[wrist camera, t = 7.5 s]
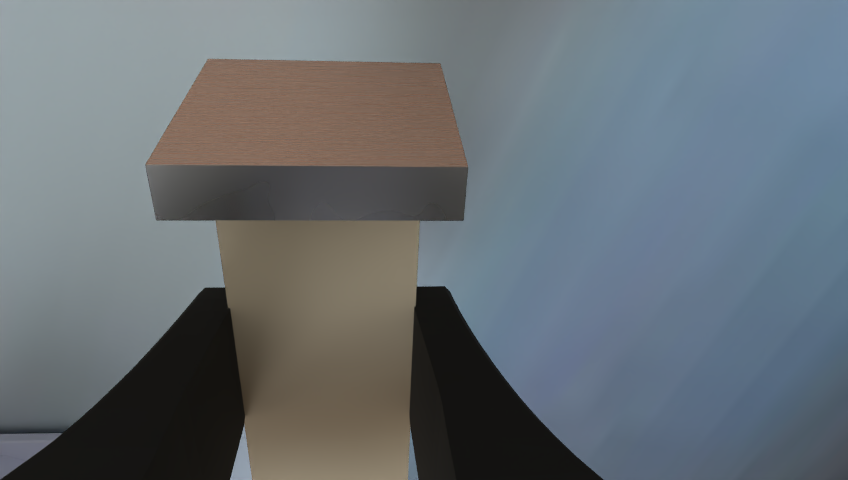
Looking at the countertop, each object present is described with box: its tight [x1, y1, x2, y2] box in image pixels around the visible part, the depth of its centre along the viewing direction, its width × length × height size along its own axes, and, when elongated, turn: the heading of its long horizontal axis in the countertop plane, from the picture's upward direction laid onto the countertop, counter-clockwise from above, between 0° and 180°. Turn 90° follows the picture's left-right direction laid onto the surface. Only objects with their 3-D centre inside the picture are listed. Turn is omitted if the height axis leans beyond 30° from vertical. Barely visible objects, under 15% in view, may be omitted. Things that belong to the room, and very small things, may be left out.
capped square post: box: [145, 59, 468, 480], centre depth 13 cm, size 11×4×4 cm, turn 178°
